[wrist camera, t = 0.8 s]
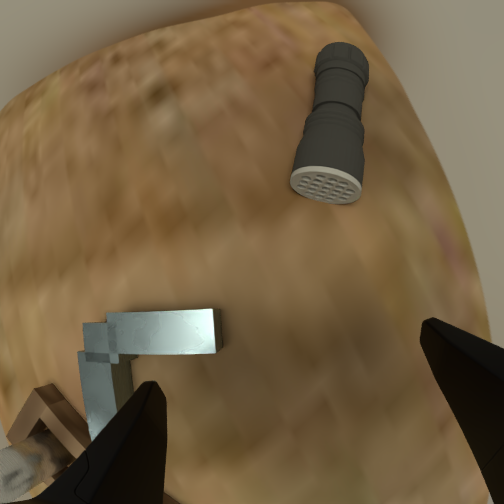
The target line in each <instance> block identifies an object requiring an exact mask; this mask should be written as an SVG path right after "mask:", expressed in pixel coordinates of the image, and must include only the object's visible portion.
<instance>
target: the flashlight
mask: <svg viewBox="0 0 504 504" xmlns="http://www.w3.org/2000/svg"><path fill="white" fill-rule="evenodd" d="M314 72H315V77H316V84H315V99H314V104H313V109H312V113H311V114H310V115H309V116H308V117H307V119H306V121H305V126H304V131H303V135H304V136H303V138H302V140H301V141H300V143H299V145H298V147H297V151H296V156H295V161H294V165H293V170H292V175H291V179H290V184H291V187H292V188H293V189H294V190H295V191H296V192H298V193H299V194H301V195H302V196H305V197H307V198H309V199H313V200H317V201H322V202H326V203H330V204H346V203H351V202H354V201H356V200H358V199H359V198H360V196H361V190H362V181H363V172H364V162H365V159H364V154H363V148H362V146H363V143H364V140H363V139H364V127H363V125H362V123H361V122H360V121H361V110H362V102H363V100H364V90H365V86H366V85H367V83H368V81H369V64H368V61H367V59H366V57H365V56H364V54H363V52H362V51H361V50H360V49H359V48H357V47H356V46H354V45H351V44H349V43H344V42H335V43H331V44H328V45H326V46H325V47H324V48H323V49H322V50H321V52H319V53H318V55H317V58H316V64H315V69H314Z"/></svg>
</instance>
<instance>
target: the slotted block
mask: <svg viewBox="0 0 504 504" xmlns="http://www.w3.org/2000/svg"><path fill="white" fill-rule="evenodd" d="M46 426H47V427H48V428H49V429H50V430H51V432H52V433H53V434H54V435H55V436H56V437H57V438H58V440H59V441H60V442H61V443H62V444H63V445H64V446H65V447H66V448H67V450H68V451H69V452H70V453H71V454H72V455H73V456H74V457H75V458H76V459H77V458H78V457H79V456H80V454H81V453H82V452H83V451H84V450H86V448H87V446H88V445H89V444H90V443H91V442H92V440H91V436H90V431H89V426H88V424H87V423H86V422H85V421H84V420H83V419H82V418H81V416H80V415H79V414H78V413H77V412H76V411H75V410H74V409H73V408H72V406H71V405H70V404H69V403H68V402H67V401H66V399H65V398H64V397H63V396H62V395H61V393H60V392H59V391H58V390H57V388H56V387H55V386H54V385H53V384H49V385H46V386H42V387H38V388H34V389H33V391H32V392H31V394H30V396H29V397H28V399H27V401H26V402H25V404H24V406H23V407H22V409H21V411H20V413H19V414H18V416H17V418H16V420H15V421H14V423H13V425H12V427H11V429H10V430H9V432H8V434H7V436H6V437H7V438H8V440H9V441H10V442H11V444H12V445H13V444H15V443H18V442H20V441H22V440H25V439H27V438H29V437H31V436H34V435H36V434H38V433H40V432H42V431H43V430H44V429H45V427H46ZM67 468H68V467H67V466H66V467H65V468H63V469H62V470H60V471H59V472H57V473H56V474H54V475H53V476H51V477H50V478H48V479H47V480H45V481H44V483H45V484H46V485H47V486H49V485H51V484H52V483H53V482H54V481H55V480H56V479H57V478H58V477H59V476H60V475H61V474H62V473H63V472H64V471H65V470H66V469H67ZM163 504H179V503H178V502H176V501H175V500H173V499H172V498H171V497H169V496H168V495H167V494H165V493H163Z"/></svg>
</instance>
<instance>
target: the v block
mask: <svg viewBox="0 0 504 504" xmlns="http://www.w3.org/2000/svg"><path fill="white" fill-rule="evenodd" d="M106 315H107V322H94V323H83V335H84V347H85V350H84V351H78V352H77V353H78V362H79V371H80V379H81V386H82V393H83V399H84V405H85V411H86V416H87V421H88V426H89V431H90V436H91V440H92V441H93V440H94V438H95V437H96V436H97V435H98V434H99V433H100V431H101V430H102V429H103V428H104V427H105V426H106V425H107V423H108V422H109V421H110V420H111V419H112V418H113V416H114V415H115V414H116V413H117V412H118V411H119V410H120V408H121V407H122V406H123V405H124V404H125V403H126V401H127V400H128V399H129V398H130V397H131V396H132V395H133V393H134V391H133V384H132V375H131V367H130V360H132V359H135V358H138V357H137V354H211V353H217V352H218V351H219V350H220V349H222V348H223V340H222V328H221V314H220V309H199V310H180V311H156V312H122V313H106Z"/></svg>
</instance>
